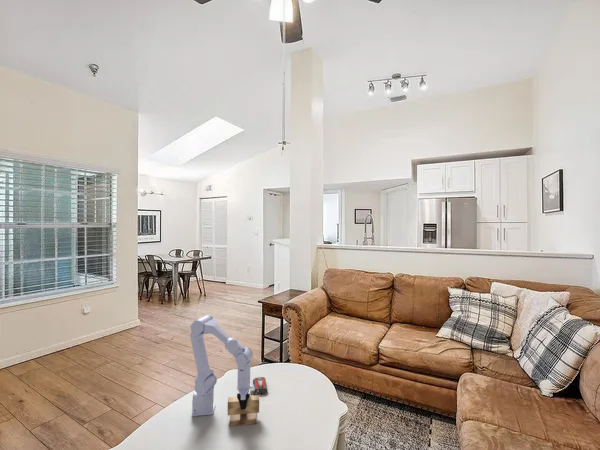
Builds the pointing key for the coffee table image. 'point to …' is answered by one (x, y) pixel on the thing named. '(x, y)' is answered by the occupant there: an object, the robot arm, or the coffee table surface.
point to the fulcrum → (243, 419)
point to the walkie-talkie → (259, 386)
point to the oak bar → (250, 407)
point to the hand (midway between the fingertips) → (243, 406)
